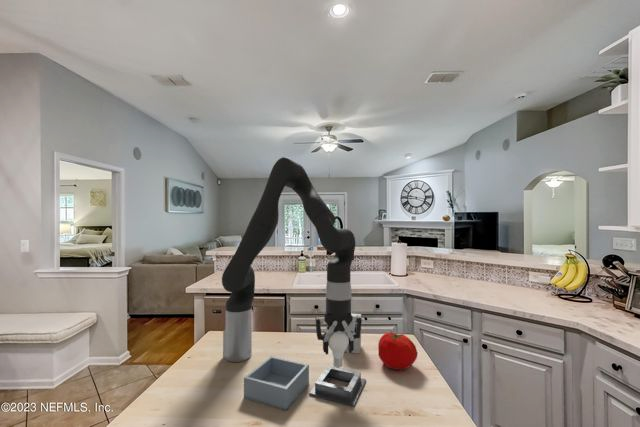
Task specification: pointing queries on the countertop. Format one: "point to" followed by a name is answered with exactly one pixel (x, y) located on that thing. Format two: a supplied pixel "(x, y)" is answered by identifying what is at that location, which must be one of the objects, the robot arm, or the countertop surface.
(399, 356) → the tomato
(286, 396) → the bin
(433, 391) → the countertop surface
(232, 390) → the countertop surface
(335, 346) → the lightbulb
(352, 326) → the supplement box
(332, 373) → the dark grey square frame
